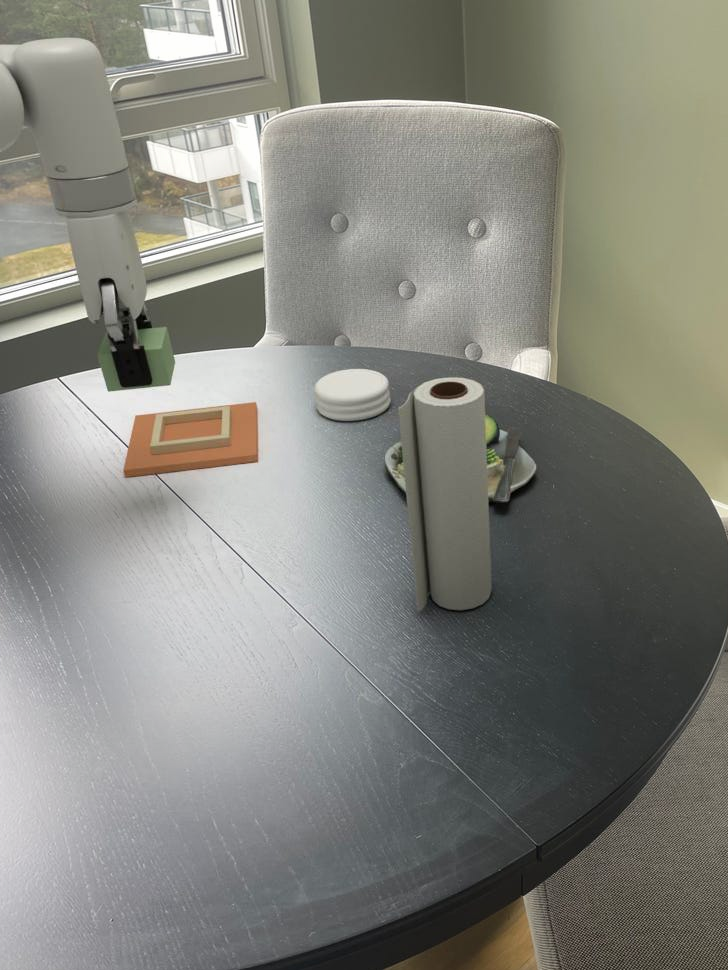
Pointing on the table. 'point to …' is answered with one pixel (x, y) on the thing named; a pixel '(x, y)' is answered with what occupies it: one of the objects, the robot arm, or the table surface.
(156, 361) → the green block
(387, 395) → the coaster
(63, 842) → the table surface
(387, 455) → the salad plate
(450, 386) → the paper towel roll
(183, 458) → the base mat
